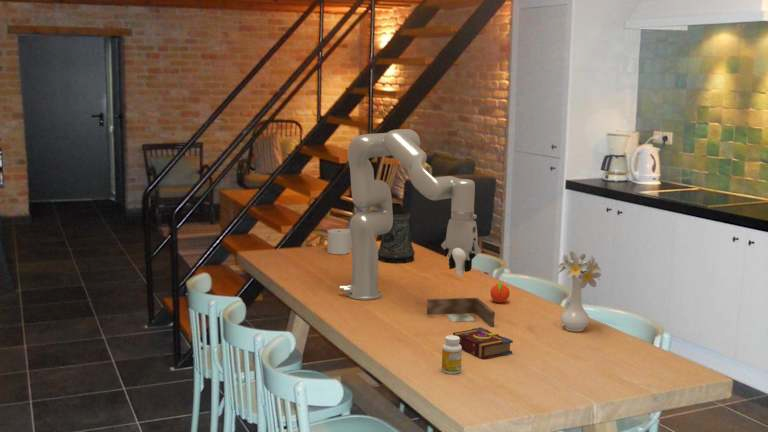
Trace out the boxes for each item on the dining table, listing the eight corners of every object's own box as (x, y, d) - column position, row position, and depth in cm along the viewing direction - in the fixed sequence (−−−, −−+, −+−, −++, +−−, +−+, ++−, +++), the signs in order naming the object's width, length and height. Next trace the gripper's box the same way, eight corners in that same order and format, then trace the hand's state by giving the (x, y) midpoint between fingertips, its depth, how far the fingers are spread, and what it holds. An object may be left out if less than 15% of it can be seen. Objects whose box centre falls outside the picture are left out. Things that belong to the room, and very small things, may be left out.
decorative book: (482, 360, 244) (483, 344, 243) (449, 345, 258) (449, 329, 257) (512, 354, 250) (513, 338, 249) (478, 339, 264) (478, 324, 263)
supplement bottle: (440, 367, 237) (441, 334, 235) (459, 367, 238) (460, 334, 236) (443, 374, 232) (444, 340, 230) (462, 374, 232) (463, 340, 231)
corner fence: (441, 329, 273) (441, 314, 272) (426, 313, 290) (427, 299, 290) (494, 326, 277) (494, 312, 276) (476, 311, 294) (477, 297, 293)
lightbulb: (453, 273, 286) (455, 241, 284) (471, 275, 284) (473, 243, 282) (448, 277, 281) (450, 245, 279) (465, 279, 278) (468, 247, 276)
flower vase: (574, 339, 265) (579, 262, 261) (544, 323, 282) (548, 250, 278) (610, 336, 269) (615, 260, 265) (578, 320, 286) (582, 248, 282)
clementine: (508, 306, 302) (509, 287, 300) (489, 305, 303) (489, 285, 302) (509, 300, 309) (510, 281, 308) (490, 299, 311) (491, 280, 310)
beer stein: (414, 264, 365) (416, 207, 361) (370, 263, 366) (371, 206, 361) (414, 256, 382) (415, 201, 378) (371, 255, 382) (372, 200, 378)
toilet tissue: (324, 253, 383) (324, 232, 381) (330, 248, 394) (331, 227, 393) (347, 255, 381) (348, 233, 379) (353, 249, 392) (353, 228, 391)
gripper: (490, 218, 277) (487, 271, 280) (446, 212, 287) (444, 264, 290) (479, 221, 271) (476, 275, 274) (434, 214, 281) (432, 267, 284)
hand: (460, 269), depth 282 cm, fingers closed on lightbulb, 5 cm apart
